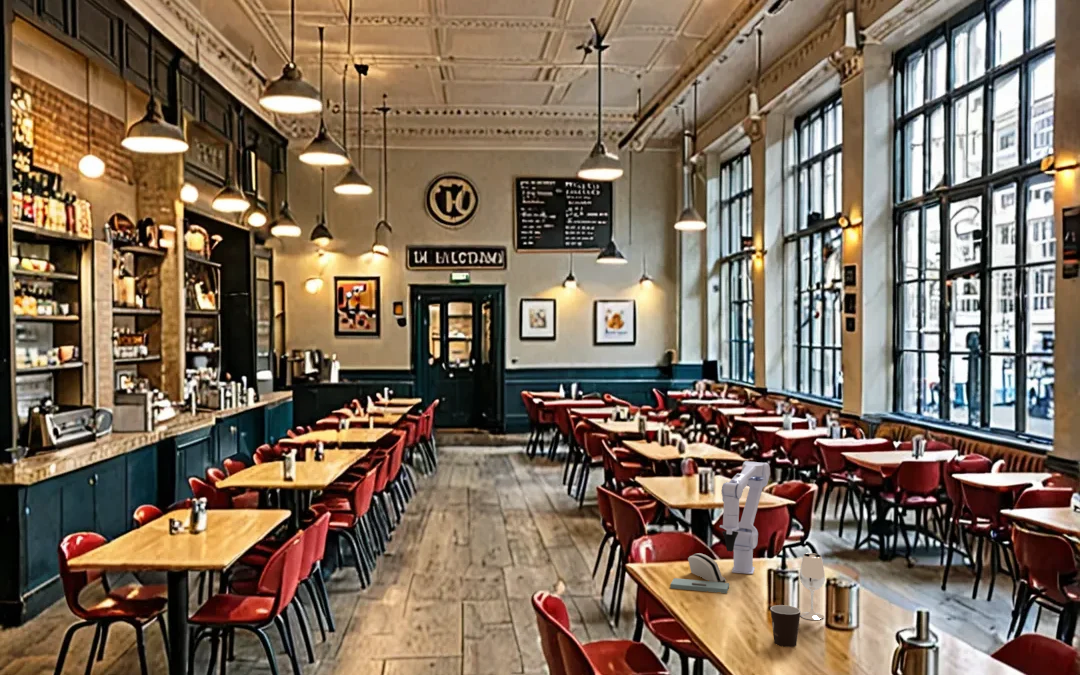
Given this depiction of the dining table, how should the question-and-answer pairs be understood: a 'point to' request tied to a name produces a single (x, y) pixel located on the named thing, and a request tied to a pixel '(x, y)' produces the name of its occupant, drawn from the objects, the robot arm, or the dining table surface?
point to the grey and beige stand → (705, 567)
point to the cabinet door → (699, 585)
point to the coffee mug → (785, 625)
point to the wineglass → (812, 580)
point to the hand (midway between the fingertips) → (729, 551)
